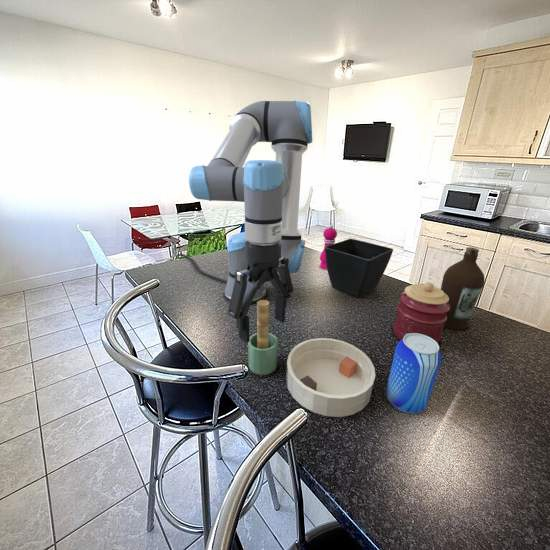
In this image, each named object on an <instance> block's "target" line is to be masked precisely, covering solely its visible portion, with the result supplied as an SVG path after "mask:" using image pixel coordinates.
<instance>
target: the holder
mask: <svg viewBox="0 0 550 550" xmlns="http://www.w3.org/2000/svg"><path fill="white" fill-rule="evenodd" d="M249 339H250V342H248V343H247V362H248V364H247V365H248V368H249V370H250V372H252V373H253V374H257V375H262V376H265V375H269V374H272V373H273V372H275V371H276V369H277V367H278V353H279V352H278V349H279V339H278V338H277V336H276V335H274V334H273V333H271V332H269V348H266V349H259V348H257V332H255V333H253V334H252V335H249Z"/></svg>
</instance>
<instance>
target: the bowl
mask: <svg viewBox="0 0 550 550" xmlns="http://www.w3.org/2000/svg"><path fill="white" fill-rule="evenodd" d="M346 357H349V358H350V359H352V360H354V361H355V362H357V368H356V372H355V373H354V374H353V375H352V376H351V377H350V378H348V377H346V376H345V375H343V374H342V373H340V372H339V366H340V362H341V361H342V360H343V359H345V358H346ZM306 376H309V377H310V378H312V379H313V380H314V381H315V382H316V383H317V388H316V391H315V390H313V389H311V388H309V387H307V386H306V385H304V384H303V383H302V382H301V381H300V379H302V378H304V377H306ZM285 380H286V386H287V387H286V388H287V389H288V392H289V393H290V395H291V397H292V398H293V399H294V400H295V401H296V402H297V403H298V404H299V405H300V406H301V407H303V408H304V409H306V410H309V411H310V412H311V413H314V414H318V415H321V416H323V417H330V418H331V417H332V418H343V417H348V416H349V417H350V416H353V415H355V414H357V413H359V412H361V411H363V410H364V409H365V408H366V406H367V405H368V404H369V403H370V401H371V398H372V394H373V390H374V385H375V380H376V369H375V366H374V364H373V362H372V360H371V359H370V357H369V356H368V355H367V354H366V353H365V352H364V351H363V350H361V349H360V348H359V347H357V346H355V345H353V344H351V343H348V342H346V341H344V340H341V339H336V338H331V337H330V338H327V337H318V338H310V339H307V340H305V341H301V342H299V343H298V344H296V345H295V346H294V347H293V348H292V349H291V350H290V352H289V353H288V356H287V360H286V373H285Z"/></svg>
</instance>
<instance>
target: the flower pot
mask: <svg viewBox="0 0 550 550" xmlns="http://www.w3.org/2000/svg"><path fill="white" fill-rule="evenodd" d="M393 251H394V248H392V247H387V246H385V245H384V246H383V245H379V244H375V243H371V242H367V241H363V240H360V239H355V238H348V239H345V240H342V241H341V240H340V241H339V242H335V243H334V244H332V245H329V246H326V247H325V256H326V264H327V269H326V270H327V274H328V278H329V282H330V285H331V287H332V288H333V289H336V290H338V291H341V292H343V293H346V294H349V295H351V296H354V297H357V298H361V297H363V296H365V295H366V294H369V293H370V292H372V291H373V290H374V289H376V287H377V286H378V285H379V283H380V281H381V279H382V278H383V276H384V273H385V271H386V270H387V267H388V266H389V265H388V264H389V263H390V260H391V257H392V255H393Z"/></svg>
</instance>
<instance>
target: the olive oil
mask: <svg viewBox="0 0 550 550" xmlns="http://www.w3.org/2000/svg"><path fill="white" fill-rule="evenodd" d="M479 252H480V249H478V248H477V247H476V248H475V247H472V246H470V247H468V246H467V247H466V248H465V252H464V254H463V256H462V259H461V260H459V261H457V262H455V263H454V264H451V265H450V266H449V267H448V268H447V269H446V270H445V271H444V274H443V276H442V280H441V281H442V282H441V286H440V289H441V290H442V291H443V292H444V293H445V294H447V295H448V297H449V301H448V303H449V305H450V310H449V311H448V312H446V315H447V320H446V321H445V324H444V327H443V328H447V329H450V330H456V331H457V330H458V331H461V330H465V329H466V328H467V327H468V324H469V322H470V319H471V317H473V315H474V313H475V311H474V310H475V307H476V305H477V302H478V300H479V297H480V295H481V293H482V291H483V288H484V285H485V273H484V272H483V271H482V269H481V268H480V266H479V265H478V263H477V259H478V257H479Z"/></svg>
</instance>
